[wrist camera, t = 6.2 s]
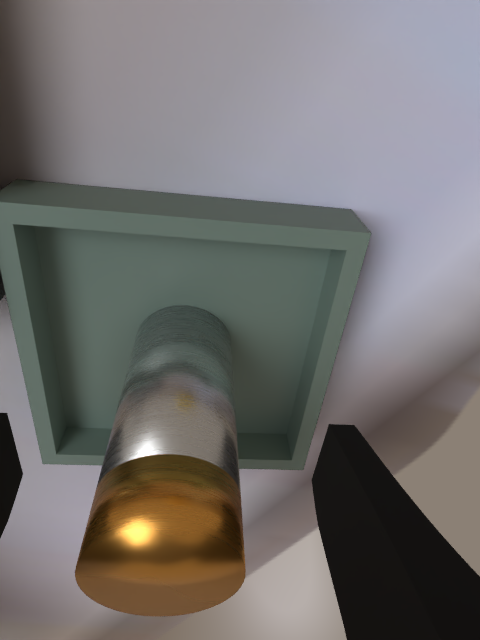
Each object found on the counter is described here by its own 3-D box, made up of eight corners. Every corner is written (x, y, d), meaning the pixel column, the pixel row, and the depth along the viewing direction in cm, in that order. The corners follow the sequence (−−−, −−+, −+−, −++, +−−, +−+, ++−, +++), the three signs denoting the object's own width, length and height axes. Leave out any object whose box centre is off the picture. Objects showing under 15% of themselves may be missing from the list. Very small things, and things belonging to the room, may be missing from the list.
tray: (294, 431, 17) (303, 470, 15) (58, 423, 16) (42, 464, 14) (351, 209, 12) (371, 233, 10) (16, 179, 11) (-15, 200, 10)
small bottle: (240, 313, 13) (262, 536, 7) (221, 386, 14) (227, 618, 9) (139, 297, 12) (76, 523, 7) (131, 375, 14) (74, 613, 8)
